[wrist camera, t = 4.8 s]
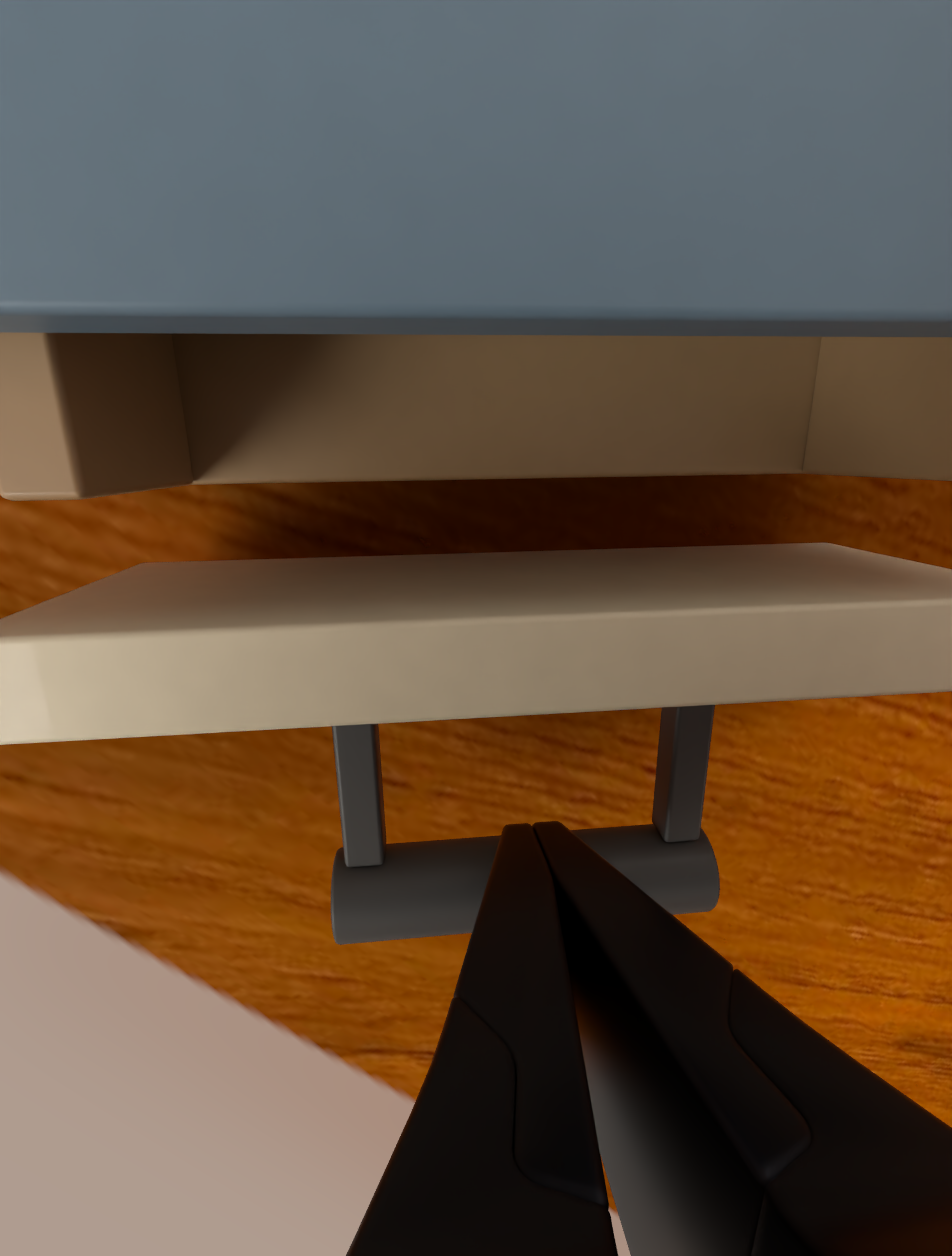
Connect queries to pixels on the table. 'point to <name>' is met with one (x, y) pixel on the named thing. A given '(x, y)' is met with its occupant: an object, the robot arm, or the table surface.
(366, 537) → the table surface
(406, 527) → the table surface
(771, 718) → the table surface
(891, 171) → the cabinet
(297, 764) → the table surface
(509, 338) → the drawer
